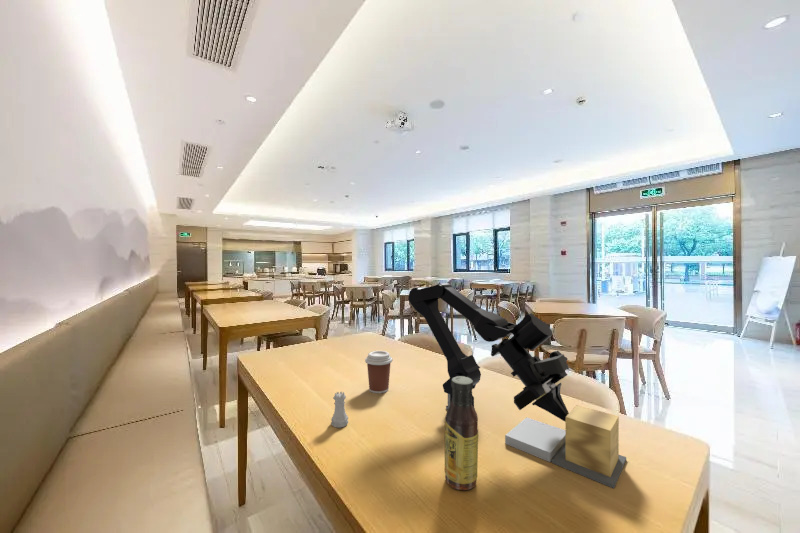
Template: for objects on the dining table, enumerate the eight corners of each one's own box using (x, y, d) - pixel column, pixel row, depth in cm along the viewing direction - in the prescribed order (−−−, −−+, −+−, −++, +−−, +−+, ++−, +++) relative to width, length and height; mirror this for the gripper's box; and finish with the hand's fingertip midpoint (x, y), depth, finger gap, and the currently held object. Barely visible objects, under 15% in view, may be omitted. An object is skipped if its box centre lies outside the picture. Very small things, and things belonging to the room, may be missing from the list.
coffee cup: (360, 392, 104) (360, 355, 104) (372, 382, 112) (372, 348, 112) (385, 396, 101) (385, 358, 101) (396, 386, 109) (396, 351, 109)
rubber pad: (551, 462, 67) (551, 460, 67) (569, 440, 76) (569, 437, 76) (613, 488, 59) (613, 485, 59) (626, 459, 68) (626, 457, 68)
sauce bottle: (441, 471, 64) (441, 373, 64) (471, 470, 65) (471, 372, 65) (449, 495, 58) (448, 385, 58) (482, 493, 58) (482, 384, 58)
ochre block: (565, 459, 67) (565, 416, 67) (576, 444, 73) (576, 404, 73) (610, 477, 62) (610, 430, 62) (618, 458, 67) (618, 416, 67)
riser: (505, 443, 74) (505, 435, 74) (526, 425, 83) (526, 417, 83) (550, 462, 67) (550, 452, 67) (568, 439, 76) (568, 431, 76)
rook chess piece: (351, 421, 85) (351, 391, 85) (343, 429, 81) (343, 398, 81) (336, 418, 86) (336, 389, 86) (327, 426, 82) (327, 395, 82)
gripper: (528, 349, 67) (587, 419, 59) (558, 334, 80) (609, 390, 73) (493, 377, 73) (543, 445, 65) (527, 359, 86) (572, 413, 78)
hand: (569, 421), depth 70 cm, fingers closed, pressing on ochre block
